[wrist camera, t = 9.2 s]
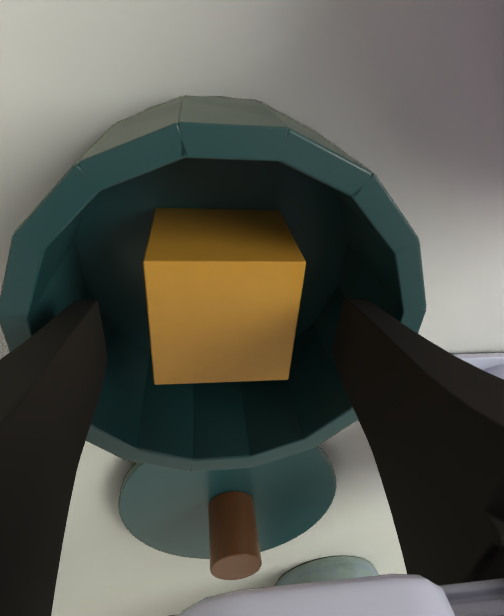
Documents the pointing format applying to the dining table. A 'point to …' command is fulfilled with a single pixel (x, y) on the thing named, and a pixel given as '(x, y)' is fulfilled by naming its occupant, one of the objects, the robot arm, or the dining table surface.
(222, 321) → the block
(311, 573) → the green embossed cup
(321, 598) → the robot arm
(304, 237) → the pot
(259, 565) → the lid
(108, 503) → the dining table surface
